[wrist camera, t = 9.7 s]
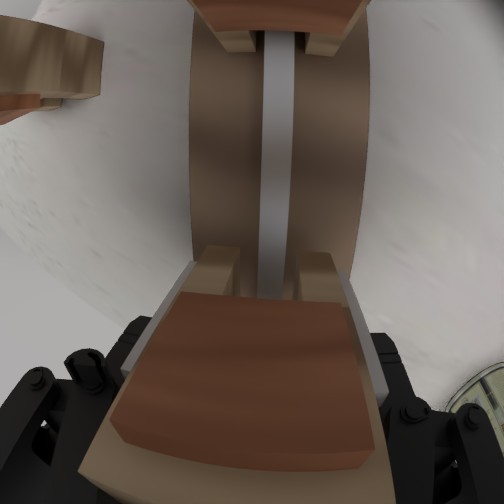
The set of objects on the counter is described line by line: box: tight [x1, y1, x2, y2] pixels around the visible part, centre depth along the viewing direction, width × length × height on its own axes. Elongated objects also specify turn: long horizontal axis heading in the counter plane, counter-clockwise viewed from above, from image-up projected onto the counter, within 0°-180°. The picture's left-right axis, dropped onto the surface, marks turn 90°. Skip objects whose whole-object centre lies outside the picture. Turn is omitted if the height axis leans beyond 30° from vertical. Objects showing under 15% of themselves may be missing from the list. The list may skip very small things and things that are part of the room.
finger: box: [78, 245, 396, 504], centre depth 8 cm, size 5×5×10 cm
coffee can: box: [446, 363, 504, 456], centre depth 15 cm, size 10×10×14 cm
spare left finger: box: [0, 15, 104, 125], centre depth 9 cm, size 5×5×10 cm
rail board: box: [189, 8, 370, 300], centre depth 12 cm, size 26×9×4 cm, turn 179°
